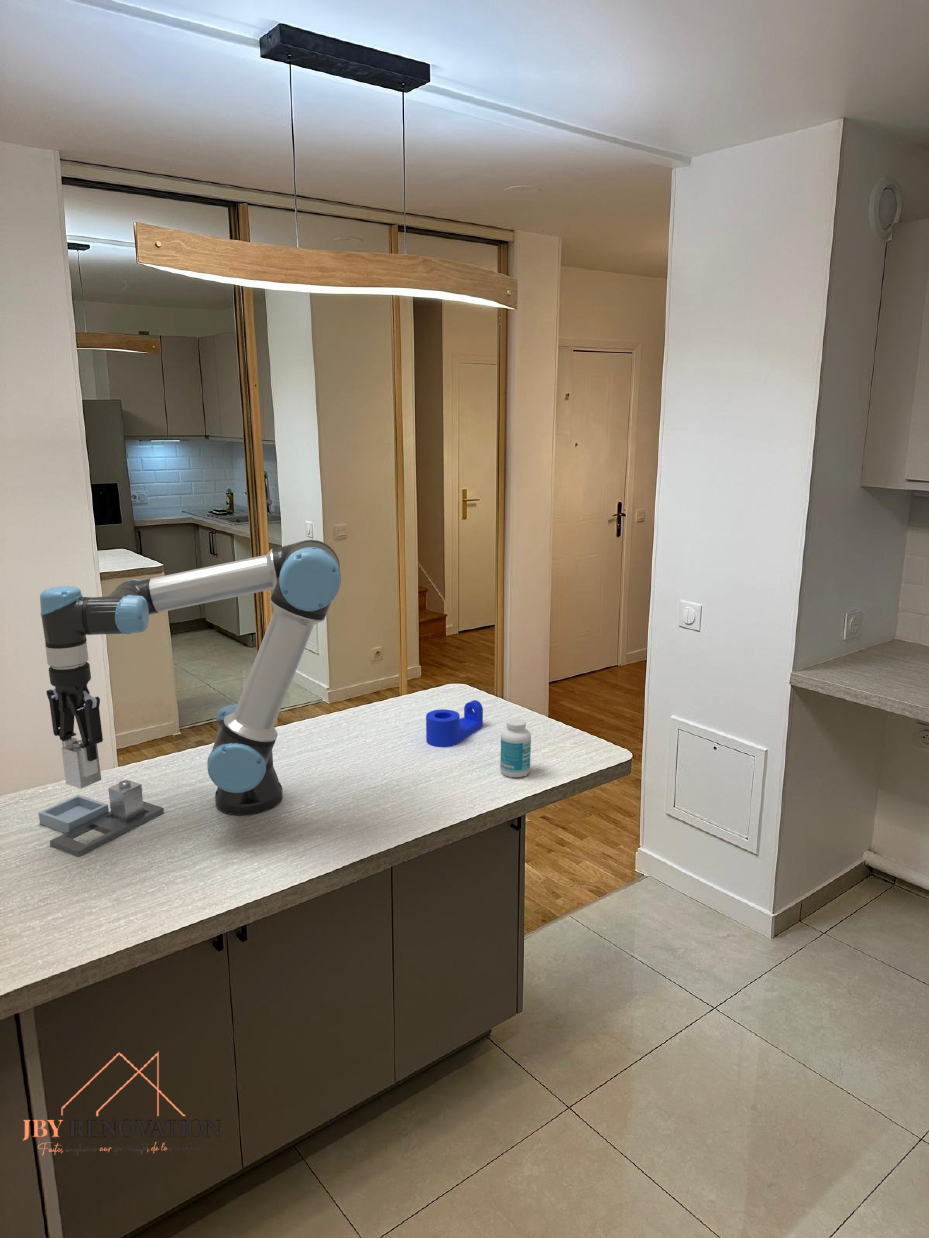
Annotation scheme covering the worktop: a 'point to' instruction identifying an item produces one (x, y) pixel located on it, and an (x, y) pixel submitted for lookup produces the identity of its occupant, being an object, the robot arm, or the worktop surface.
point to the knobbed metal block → (77, 766)
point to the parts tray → (72, 813)
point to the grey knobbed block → (126, 801)
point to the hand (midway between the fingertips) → (82, 771)
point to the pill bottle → (515, 749)
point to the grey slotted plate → (103, 825)
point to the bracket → (453, 725)
